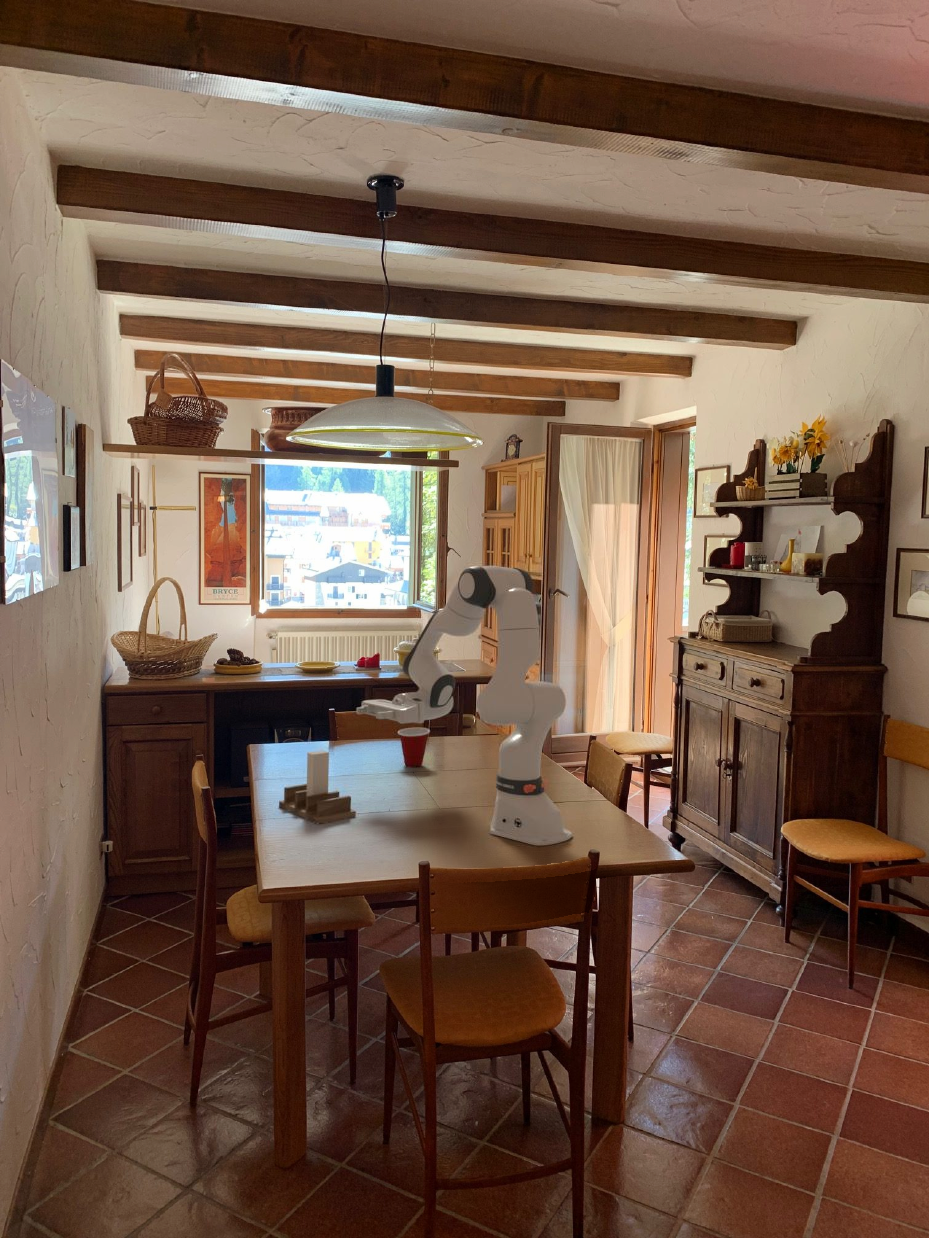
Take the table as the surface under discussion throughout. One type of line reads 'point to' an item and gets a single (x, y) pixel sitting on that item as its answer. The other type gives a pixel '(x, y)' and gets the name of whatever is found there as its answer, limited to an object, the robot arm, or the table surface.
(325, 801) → the drying rack
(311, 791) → the clay strip
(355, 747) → the table surface
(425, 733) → the plastic cup
